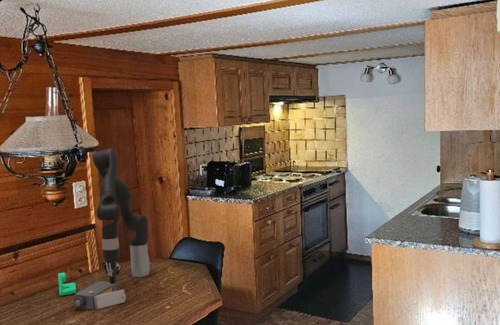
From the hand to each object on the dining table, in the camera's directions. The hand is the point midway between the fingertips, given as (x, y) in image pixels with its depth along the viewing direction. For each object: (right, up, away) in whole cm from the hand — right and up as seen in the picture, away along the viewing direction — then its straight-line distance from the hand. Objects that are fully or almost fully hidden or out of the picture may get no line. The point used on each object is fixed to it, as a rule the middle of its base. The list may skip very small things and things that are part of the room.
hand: (112, 283), depth 232 cm
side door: (0, -9, -4) cm, 10 cm away
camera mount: (-27, -9, +17) cm, 34 cm away
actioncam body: (-8, -9, +1) cm, 13 cm away
